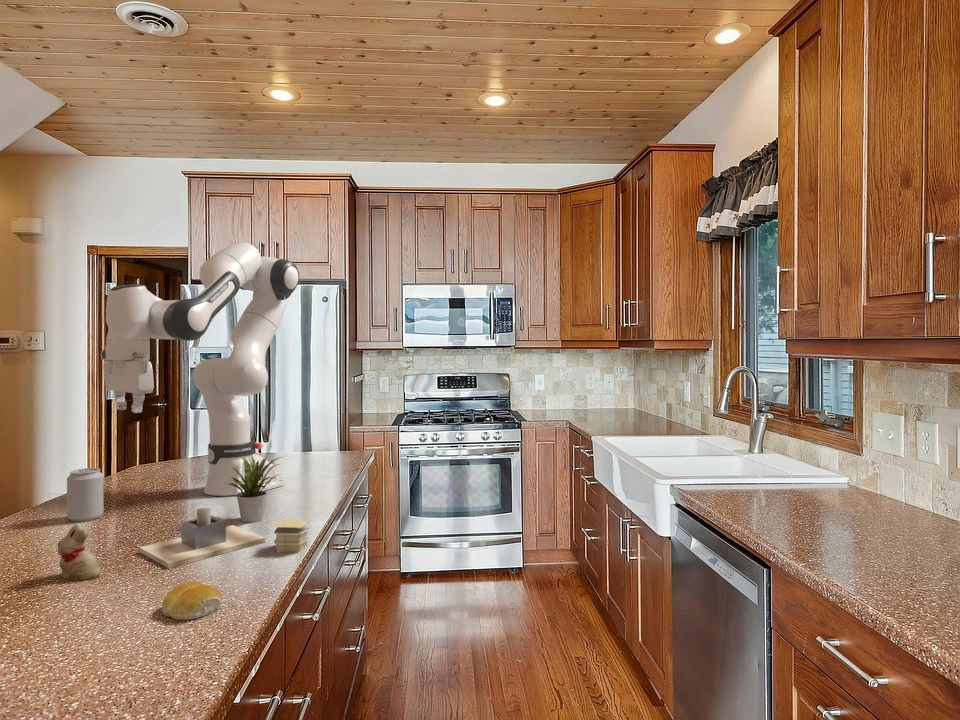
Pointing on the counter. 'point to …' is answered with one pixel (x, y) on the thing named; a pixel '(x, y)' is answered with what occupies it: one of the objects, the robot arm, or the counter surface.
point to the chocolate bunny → (77, 556)
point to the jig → (180, 554)
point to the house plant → (252, 490)
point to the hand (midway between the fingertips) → (129, 411)
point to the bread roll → (191, 601)
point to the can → (85, 494)
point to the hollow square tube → (203, 533)
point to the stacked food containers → (290, 535)
